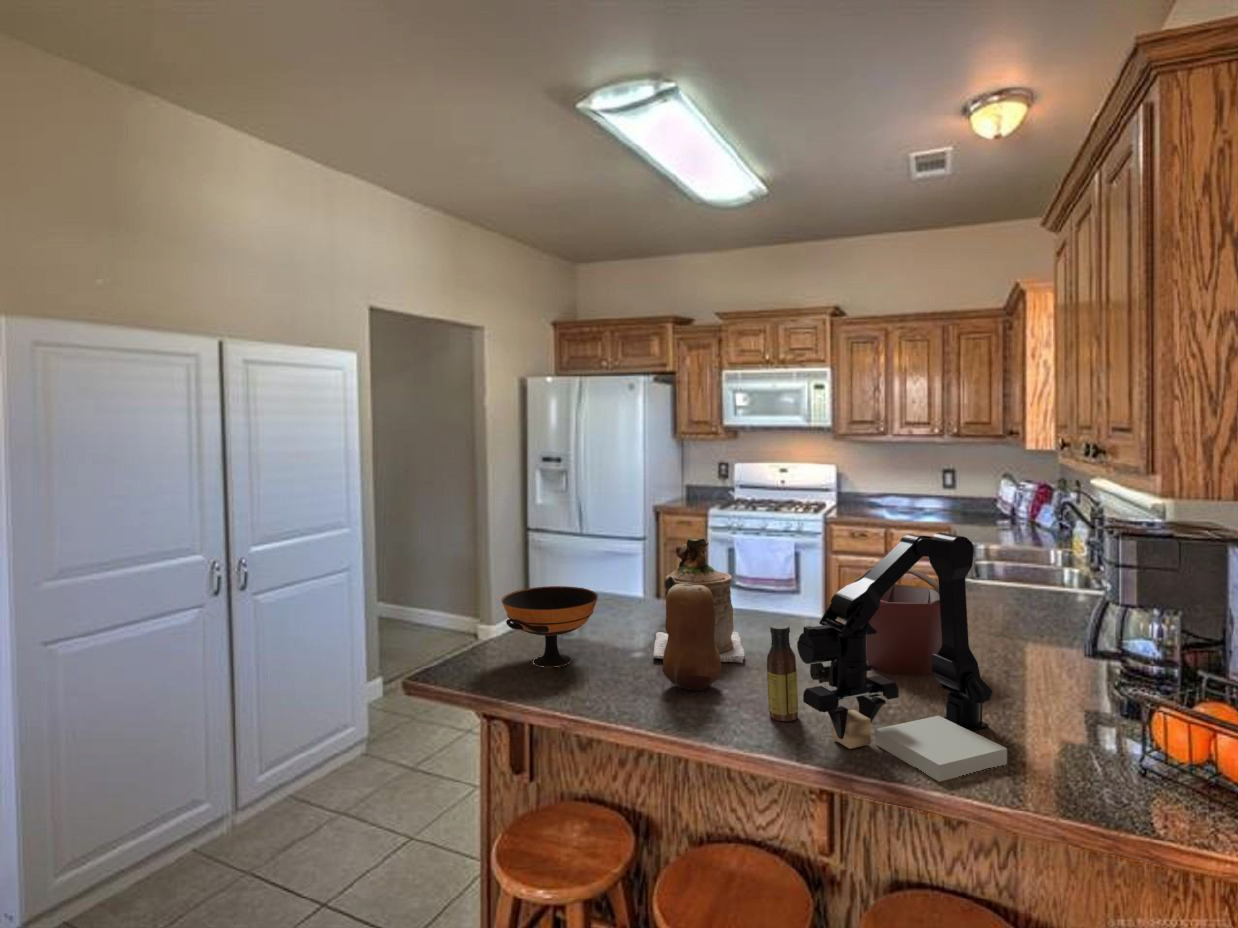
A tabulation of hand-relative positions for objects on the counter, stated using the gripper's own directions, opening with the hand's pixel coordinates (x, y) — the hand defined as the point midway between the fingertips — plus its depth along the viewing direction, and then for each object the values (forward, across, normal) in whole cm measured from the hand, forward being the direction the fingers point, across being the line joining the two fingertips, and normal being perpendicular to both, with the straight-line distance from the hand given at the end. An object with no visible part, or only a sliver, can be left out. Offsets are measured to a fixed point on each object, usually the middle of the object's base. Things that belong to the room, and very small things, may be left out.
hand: (851, 735), depth 139 cm
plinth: (+2, -12, +10) cm, 16 cm away
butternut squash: (+2, +15, -39) cm, 42 cm away
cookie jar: (+2, 0, -64) cm, 64 cm away
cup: (+2, +41, -71) cm, 82 cm away
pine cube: (+1, 0, 0) cm, 1 cm away
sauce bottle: (+2, +5, -16) cm, 17 cm away
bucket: (+2, -42, -32) cm, 53 cm away
